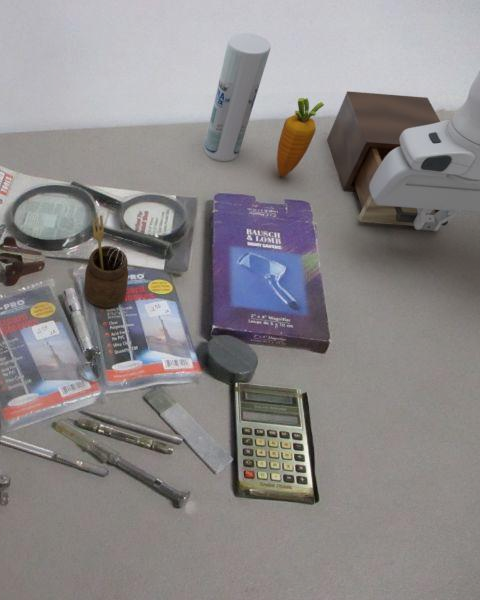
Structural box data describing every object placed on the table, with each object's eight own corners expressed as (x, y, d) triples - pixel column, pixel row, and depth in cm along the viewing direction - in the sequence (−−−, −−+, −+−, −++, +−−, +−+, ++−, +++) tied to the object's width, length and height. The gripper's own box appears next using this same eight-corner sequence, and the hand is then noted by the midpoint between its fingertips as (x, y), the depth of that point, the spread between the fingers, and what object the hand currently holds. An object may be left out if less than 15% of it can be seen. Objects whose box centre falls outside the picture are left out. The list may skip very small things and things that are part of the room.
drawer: (449, 249, 91) (477, 210, 85) (366, 242, 91) (389, 203, 85) (415, 174, 103) (438, 135, 97) (342, 168, 103) (361, 129, 97)
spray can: (201, 139, 109) (226, 31, 93) (236, 141, 109) (267, 33, 93) (204, 161, 105) (231, 52, 89) (241, 163, 105) (274, 54, 89)
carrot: (299, 173, 103) (330, 96, 92) (290, 189, 100) (321, 111, 89) (272, 164, 105) (299, 86, 93) (262, 179, 102) (289, 100, 90)
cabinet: (424, 197, 100) (455, 148, 93) (342, 190, 101) (366, 141, 93) (401, 145, 110) (427, 97, 102) (327, 139, 110) (347, 91, 103)
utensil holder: (99, 316, 81) (106, 254, 72) (74, 286, 85) (77, 224, 75) (134, 298, 84) (144, 237, 74) (108, 270, 87) (115, 208, 78)
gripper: (547, 140, 78) (488, 218, 89) (391, 128, 79) (350, 207, 89) (568, 170, 74) (504, 248, 85) (404, 157, 75) (360, 236, 85)
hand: (424, 227), depth 87 cm, fingers closed, pressing on drawer
